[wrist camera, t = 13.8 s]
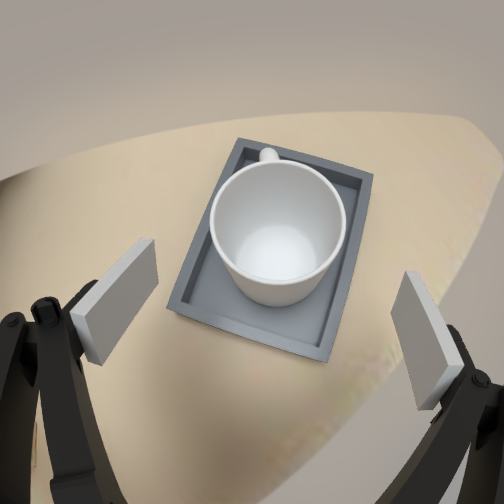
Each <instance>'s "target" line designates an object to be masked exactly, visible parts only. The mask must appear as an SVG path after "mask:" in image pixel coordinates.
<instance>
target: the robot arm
mask: <svg viewBox="0 0 504 504" xmlns="http://www.w3.org/2000/svg"><path fill="white" fill-rule="evenodd" d="M157 285H158V275H157V265H156V255H155V244H154V239H147V238H141V239H140V240H139V241H138V242H136V243H135V244H134V245H133V246H132V247H131V248H130V249H129V250H128V251H127V252H126V253H125V254H124V255H123V256H122V257H121V258H120V259H119V260H118V261H117V262H116V263H115V264H114V265H113V266H112V267H111V268H110V269H109V270H108V271H107V272H106V273H105V274H104V276H103V277H102V278H101V279H100V280H93V281H91V282H89V283H87V284H86V285H85V286H84V287H83V288H82V289H81V290H80V292H78V293H77V294H76V295H75V297H73V298H72V299H71V300H70V301H69V302H68V304H67V305H66V306H65V307H64V308H63V309H62V310H61V307H60V304H59V301H58V299H56V298H55V297H44V298H41V299H39V300H37V301H36V302H35V303H34V304H33V305H32V307H31V312H32V315H33V317H34V320H35V322H27V321H26V319H25V317H24V315H23V314H22V313H21V312H13V313H10V314H8V315H7V316H5V317H4V318H3V320H2V321H1V323H0V504H30V500H31V499H30V483H31V457H32V443H33V432H34V423H35V415H36V408H37V401H38V395H39V389H40V399H41V407H42V415H43V422H44V429H45V435H46V440H47V446H48V451H49V456H50V460H51V465H52V469H53V474H54V477H53V479H51V480H50V490H51V494H52V497H53V501H54V504H128V503H127V502H126V500H125V499H124V497H123V495H122V493H121V490H120V488H119V485H118V483H117V480H116V478H115V475H114V473H113V470H112V467H111V465H110V462H109V459H108V456H107V454H106V451H105V448H104V445H103V442H102V439H101V435H100V432H99V429H98V426H97V422H96V419H95V415H94V412H93V408H92V404H91V401H90V397H89V393H88V388H87V384H86V380H85V375H84V371H83V366H82V362H81V360H80V357H81V356H82V354H83V353H85V356H86V358H87V361H88V362H91V363H94V364H97V365H100V366H102V365H103V364H104V362H105V361H106V359H107V358H108V356H109V355H110V353H111V352H112V350H113V349H114V347H115V346H116V344H117V343H118V341H119V340H120V338H121V337H122V335H123V334H124V332H125V331H126V329H127V328H128V326H129V325H130V323H131V322H132V320H133V319H134V317H135V316H136V314H137V313H138V312H139V310H140V309H141V307H142V306H143V304H144V303H145V301H146V300H147V299H148V297H149V296H150V294H151V293H152V292H153V290H154V289H155V287H156V286H157ZM391 316H392V319H393V322H394V325H395V328H396V332H397V335H398V338H399V341H400V345H401V348H402V352H403V355H404V358H405V362H406V365H407V369H408V373H409V377H410V380H411V384H412V388H413V392H414V396H415V400H416V405H417V409H418V411H419V410H433V409H434V408H435V406H436V405H437V404H438V402H439V401H440V404H441V407H442V409H441V410H440V411H439V412H438V414H437V415H436V416H435V417H434V418H433V420H432V421H431V422H430V423H431V426H430V428H429V429H428V431H427V432H426V434H425V436H424V437H423V439H422V440H421V442H420V443H419V445H418V446H417V448H416V449H415V451H414V452H413V454H412V455H411V457H410V458H409V460H408V461H407V463H406V464H405V465H404V467H403V468H402V470H401V471H400V472H399V474H398V475H397V476H396V478H395V479H394V480H393V482H392V483H391V484H390V485H389V487H388V488H387V489H386V490H385V492H384V493H383V494H382V496H381V497H380V498H379V499H378V500H377V501H376V503H375V504H438V503H439V502H440V500H441V498H442V497H443V495H444V493H445V492H446V490H447V488H448V486H449V485H450V483H451V481H452V479H453V477H454V475H455V473H456V472H457V470H458V467H459V466H460V464H461V462H462V460H463V458H464V455H465V453H466V451H467V449H468V447H469V445H470V442H471V445H470V450H469V455H468V460H467V465H466V469H465V474H464V478H463V482H462V486H461V490H460V493H459V497H458V500H457V503H456V504H504V386H501V385H497V384H493V383H491V380H490V378H489V377H488V375H487V374H486V373H484V372H483V371H481V370H478V369H476V368H475V366H474V364H473V361H472V359H471V357H470V355H469V353H468V351H467V349H466V348H465V347H466V346H465V345H464V342H462V338H461V336H460V334H459V332H458V331H457V330H456V329H455V328H454V327H453V326H452V325H446V324H445V322H444V320H443V318H442V316H441V314H440V312H439V310H438V308H437V306H436V304H435V302H434V300H433V298H432V296H431V294H430V292H429V291H428V289H427V287H426V285H425V283H424V282H423V280H422V278H421V276H420V274H419V273H418V272H414V271H405V274H404V277H403V280H402V283H401V286H400V288H399V291H398V294H397V297H396V300H395V303H394V305H393V308H392V311H391Z"/></svg>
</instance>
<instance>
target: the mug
mask: <svg viewBox="0 0 504 504" xmlns="http://www.w3.org/2000/svg"><path fill="white" fill-rule="evenodd" d="M259 161H260V162H257V163H254V164H251V165H248V166H246V167H244V168H242V169H241V170H239V171H238V172H236V173H235V174H233V175H232V176H231V177H230V178H229V179H228V180H227V181H226V182H225V183H224V184H223V185H222V187H221V188H220V190H219V191H218V193H217V195H216V197H215V199H214V201H213V204H212V207H211V212H210V232H211V237H212V240H213V243H214V245H215V248H216V250H217V251H218V253H219V255H220V257H221V259H222V260H223V262H224V264H225V266H226V268H227V269H228V271H229V273H230V275H231V277H232V278H233V280H234V282H235V284H236V285H237V287H238V288H239V289H240V290H241V291H242V292H243V293H244V294H245V295H246V296H247V297H248V298H250V299H251V300H253V301H255V302H256V303H259V304H262V305H265V306H271V307H283V306H288V305H292V304H294V303H297V302H299V301H301V300H302V299H304V298H305V297H306V296H308V295H309V294H310V293H311V292H312V291H313V290H314V289H315V287H316V286H317V284H318V283H319V282H320V280H321V279H322V277H323V276H324V274H325V272H326V271H327V269H328V268H329V266H330V265H331V263H332V262H333V260H334V259H335V257H336V256H337V254H338V252H339V250H340V248H341V246H342V244H343V241H344V237H345V232H346V214H345V210H344V206H343V203H342V201H341V198H340V196H339V194H338V192H337V191H336V189H335V188H334V187H333V185H332V184H331V183H330V182H329V181H328V180H327V179H326V178H325V177H324V176H323V175H322V174H320V173H319V172H317V171H316V170H314V169H313V168H311V167H309V166H306V165H304V164H301V163H298V162H294V161H289V160H280V159H279V156H278V154H277V152H276V151H275V150H274V149H272V148H268V147H267V148H264V149H263V150H261V152H260V155H259Z"/></svg>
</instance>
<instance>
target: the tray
mask: <svg viewBox="0 0 504 504" xmlns="http://www.w3.org/2000/svg"><path fill="white" fill-rule="evenodd" d="M267 147H268V148H272V149H274V150H275V151H276V152H277V154H278V156H279V159H280V160H289V161H294V162H298V163H301V164H304V165H306V166H309V167H311V168H313V169H314V170H316V171H317V172H319V173H320V174H322V175H323V176H324V177H325V178H326V179H327V180H328V181H329V182H330V183H331V184H332V185H333V187H334V188H335V189H336V191H337V192H338V194H339V196H340V198H341V201H342V203H343V206H344V210H345V214H346V232H345V237H344V241H343V244H342V246H341V248H340V250H339V252H338V254H337V256H336V257H335V259H334V260H333V262H332V263H331V265H330V266H329V268H328V269H327V271H326V272H325V274H324V276H323V277H322V279H321V280H320V282H319V283H318V284H317V286H316V287H315V289H314V290H313V291H312V292H311V293H310V294H309V295H308V296H306V297H305V298H304V299H302V300H301V301H299V302H297V303H294V304H292V305H288V306H283V307H271V306H265V305H262V304H259V303H256V302H255V301H253V300H251V299H250V298H248V297H247V296H246V295H245V294H244V293H243V292H242V291H241V290H240V289H239V288H238V287H237V285H236V284H235V282H234V280H233V278H232V277H231V275H230V273H229V271H228V269H227V268H226V266H225V264H224V262H223V260H222V259H221V257H220V255H219V253H218V251H217V250H216V248H215V245H214V243H213V240H212V237H211V232H210V212H211V207H212V204H213V201H214V199H215V197H216V195H217V193H218V191H219V190H220V188H221V187H222V185H223V184H224V183H225V182H226V181H227V180H228V179H229V178H230V177H231V176H232V175H233V174H235V173H236V172H238V171H239V170H241V169H242V168H244V167H246V166H248V165H251V164H254V163H257V162H260V161H259V155H260V152H261V150H263V149H264V148H267ZM373 175H374V174H371V173H368V172H365V171H362V170H359V169H356V168H353V167H349V166H346V165H343V164H340V163H336V162H333V161H330V160H326V159H323V158H319V157H316V156H312V155H308V154H305V153H301V152H297V151H293V150H289V149H286V148H282V147H277V146H273V145H269V144H265V143H261V142H256V141H252V140H247V139H243V138H238V139H237V141H236V143H235V145H234V147H233V149H232V152H231V154H230V156H229V158H228V160H227V162H226V165H225V167H224V169H223V171H222V173H221V176H220V178H219V180H218V182H217V185H216V187H215V189H214V191H213V194H212V196H211V198H210V201H209V203H208V205H207V207H206V210H205V212H204V214H203V217H202V219H201V222H200V224H199V226H198V229H197V231H196V233H195V236H194V238H193V241H192V243H191V246H190V248H189V250H188V253H187V255H186V258H185V260H184V263H183V265H182V268H181V270H180V273H179V276H178V278H177V281H176V283H175V286H174V288H173V291H172V294H171V296H170V299H169V302H168V304H167V307H166V308H167V309H169V310H172V311H174V312H177V313H179V314H182V315H184V316H187V317H190V318H192V319H195V320H198V321H200V322H203V323H206V324H208V325H211V326H214V327H216V328H219V329H222V330H225V331H228V332H230V333H233V334H236V335H239V336H242V337H245V338H248V339H251V340H254V341H257V342H260V343H263V344H266V345H269V346H272V347H275V348H278V349H282V350H285V351H288V352H291V353H294V354H298V355H301V356H304V357H308V358H311V359H315V360H318V361H322V362H326V363H327V362H328V359H329V356H330V353H331V350H332V346H333V343H334V340H335V337H336V333H337V330H338V327H339V323H340V320H341V316H342V313H343V309H344V306H345V302H346V298H347V295H348V291H349V287H350V283H351V279H352V276H353V272H354V267H355V263H356V259H357V255H358V251H359V246H360V242H361V237H362V233H363V228H364V223H365V218H366V213H367V208H368V203H369V198H370V192H371V187H372V181H373Z"/></svg>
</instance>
